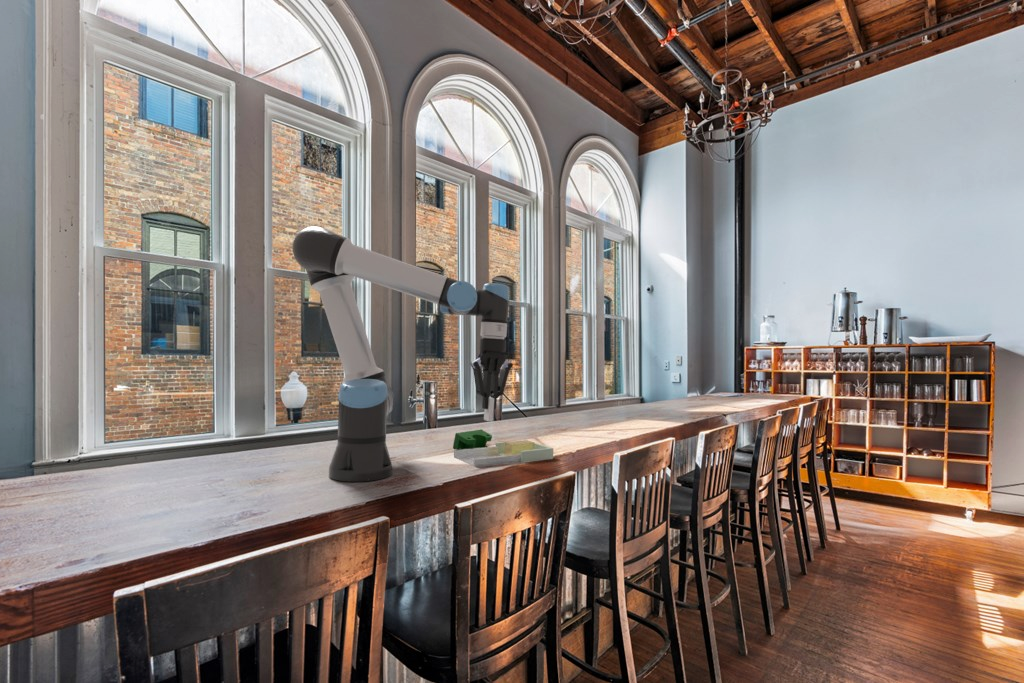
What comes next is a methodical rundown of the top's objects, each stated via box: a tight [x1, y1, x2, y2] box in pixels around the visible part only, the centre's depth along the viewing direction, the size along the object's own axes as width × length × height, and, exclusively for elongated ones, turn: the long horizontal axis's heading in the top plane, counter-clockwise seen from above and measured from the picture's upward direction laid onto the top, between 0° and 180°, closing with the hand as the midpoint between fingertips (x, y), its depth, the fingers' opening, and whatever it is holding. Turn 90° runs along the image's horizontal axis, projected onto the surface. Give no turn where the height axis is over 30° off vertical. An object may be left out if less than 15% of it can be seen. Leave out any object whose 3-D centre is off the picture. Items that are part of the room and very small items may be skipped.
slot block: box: [453, 445, 521, 468], centre depth 143 cm, size 14×13×3 cm
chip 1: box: [504, 440, 523, 456], centre depth 149 cm, size 4×4×4 cm
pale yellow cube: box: [516, 439, 536, 451], centre depth 151 cm, size 4×4×4 cm
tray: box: [495, 439, 554, 463], centre depth 150 cm, size 11×14×4 cm
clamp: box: [452, 429, 493, 450], centre depth 159 cm, size 12×6×9 cm, turn 132°
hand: (488, 420), depth 144 cm, fingers closed
